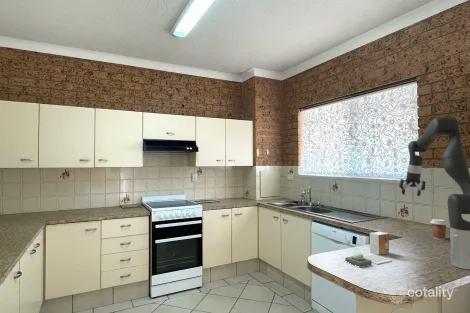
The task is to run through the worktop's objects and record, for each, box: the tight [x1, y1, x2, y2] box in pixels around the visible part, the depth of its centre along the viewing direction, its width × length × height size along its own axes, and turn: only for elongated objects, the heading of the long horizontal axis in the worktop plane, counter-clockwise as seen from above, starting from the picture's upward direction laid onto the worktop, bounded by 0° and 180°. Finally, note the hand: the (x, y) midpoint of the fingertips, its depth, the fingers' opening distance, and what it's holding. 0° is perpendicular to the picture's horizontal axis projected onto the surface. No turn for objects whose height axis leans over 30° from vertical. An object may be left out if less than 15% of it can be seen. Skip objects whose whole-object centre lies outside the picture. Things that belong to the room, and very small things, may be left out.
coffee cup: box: [429, 218, 449, 241], centre depth 177 cm, size 9×9×12 cm
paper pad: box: [363, 253, 393, 266], centre depth 134 cm, size 11×11×1 cm
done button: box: [352, 252, 364, 261], centre depth 129 cm, size 4×4×2 cm
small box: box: [369, 231, 390, 256], centre depth 145 cm, size 8×6×10 cm
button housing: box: [344, 255, 373, 268], centre depth 129 cm, size 8×8×2 cm
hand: (410, 195), depth 180 cm, fingers open, 8 cm apart
